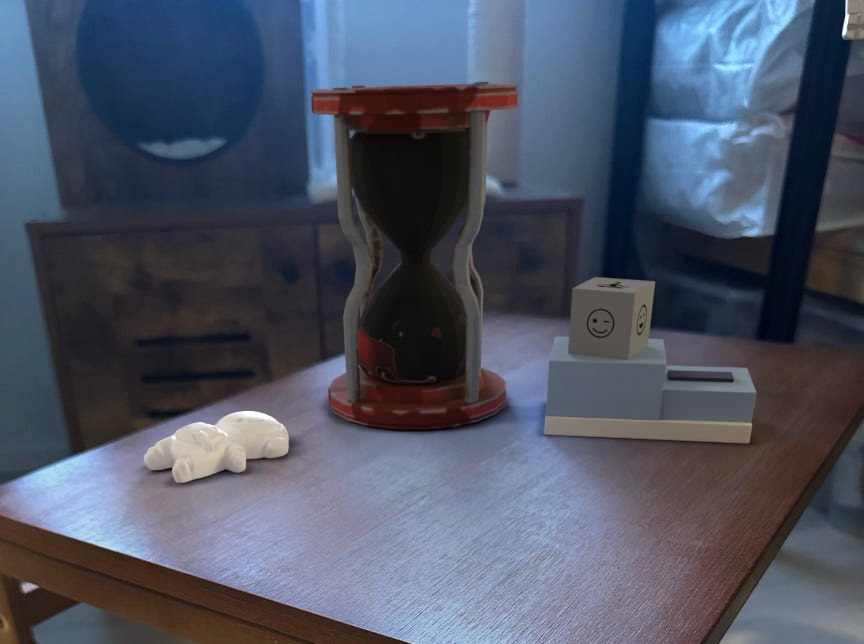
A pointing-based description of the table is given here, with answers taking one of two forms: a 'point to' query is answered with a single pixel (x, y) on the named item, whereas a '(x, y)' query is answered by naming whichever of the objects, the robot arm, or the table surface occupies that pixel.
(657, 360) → the stepped block with slot
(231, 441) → the astronaut figurine
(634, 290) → the beige smiley face cube
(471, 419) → the hourglass
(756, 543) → the table surface
